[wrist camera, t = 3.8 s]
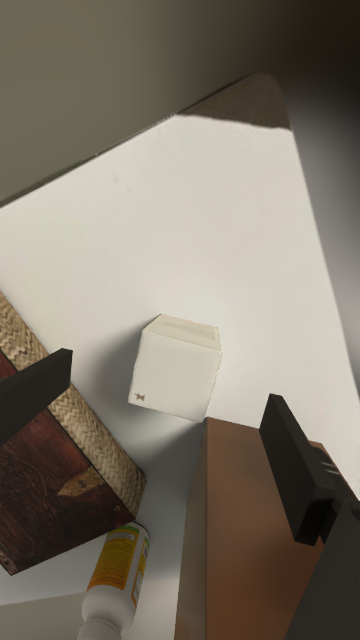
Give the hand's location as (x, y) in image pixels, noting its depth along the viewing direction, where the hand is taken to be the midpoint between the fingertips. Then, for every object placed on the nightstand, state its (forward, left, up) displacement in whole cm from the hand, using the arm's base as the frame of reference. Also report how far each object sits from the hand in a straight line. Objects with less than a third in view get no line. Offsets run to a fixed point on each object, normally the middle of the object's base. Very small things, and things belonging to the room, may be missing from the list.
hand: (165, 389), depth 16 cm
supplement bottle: (+2, +26, -9) cm, 28 cm away
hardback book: (+18, +13, -9) cm, 24 cm away
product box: (0, 0, -9) cm, 9 cm away
